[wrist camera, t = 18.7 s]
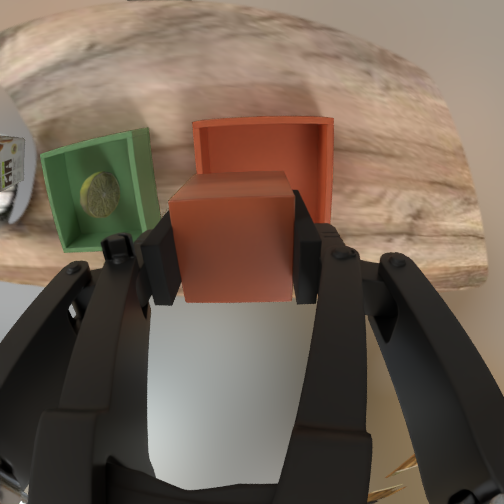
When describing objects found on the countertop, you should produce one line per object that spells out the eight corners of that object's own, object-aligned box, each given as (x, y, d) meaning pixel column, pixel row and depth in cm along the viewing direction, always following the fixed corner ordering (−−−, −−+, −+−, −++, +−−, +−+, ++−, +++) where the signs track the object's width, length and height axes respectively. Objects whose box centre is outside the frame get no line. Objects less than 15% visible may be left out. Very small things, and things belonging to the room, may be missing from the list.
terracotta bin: (201, 120, 26) (192, 121, 22) (322, 116, 26) (333, 118, 22) (211, 229, 32) (205, 247, 28) (320, 226, 32) (328, 244, 28)
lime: (109, 161, 28) (86, 172, 23) (134, 194, 30) (114, 209, 25) (86, 184, 29) (63, 198, 24) (109, 215, 31) (89, 232, 26)
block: (193, 174, 15) (167, 201, 11) (284, 170, 15) (295, 195, 11) (202, 253, 18) (185, 303, 13) (283, 251, 17) (292, 301, 13)
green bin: (62, 146, 27) (39, 154, 23) (148, 127, 27) (131, 130, 23) (81, 236, 33) (63, 252, 29) (163, 231, 32) (151, 249, 28)
